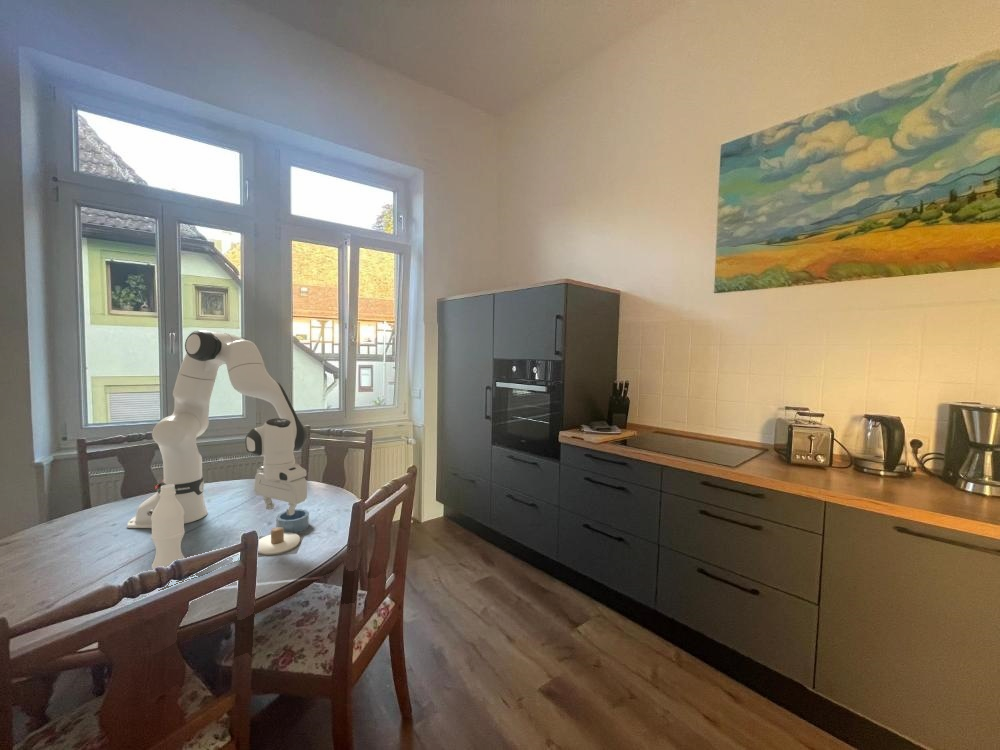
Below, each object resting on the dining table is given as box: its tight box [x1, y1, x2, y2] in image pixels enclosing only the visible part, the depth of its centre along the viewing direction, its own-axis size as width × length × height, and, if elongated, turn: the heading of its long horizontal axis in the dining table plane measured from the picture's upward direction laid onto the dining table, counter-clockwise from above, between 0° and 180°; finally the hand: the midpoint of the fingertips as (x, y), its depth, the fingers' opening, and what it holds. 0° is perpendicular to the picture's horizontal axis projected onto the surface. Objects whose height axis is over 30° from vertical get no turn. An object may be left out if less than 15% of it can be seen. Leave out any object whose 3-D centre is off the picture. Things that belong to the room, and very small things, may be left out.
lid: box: [258, 526, 300, 556], centre depth 129 cm, size 13×13×5 cm
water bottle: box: [150, 484, 186, 570], centre depth 112 cm, size 7×7×25 cm
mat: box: [257, 532, 306, 558], centre depth 130 cm, size 14×14×1 cm
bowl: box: [275, 508, 310, 534], centre depth 142 cm, size 10×10×5 cm
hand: (280, 511), depth 129 cm, fingers open, 8 cm apart
